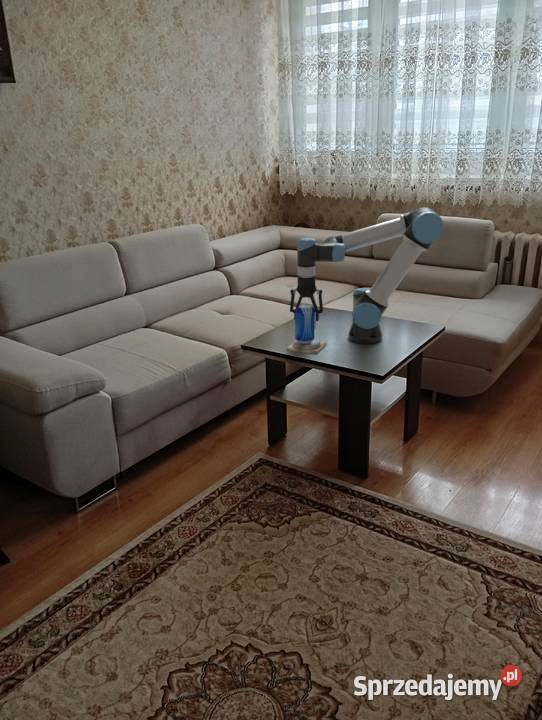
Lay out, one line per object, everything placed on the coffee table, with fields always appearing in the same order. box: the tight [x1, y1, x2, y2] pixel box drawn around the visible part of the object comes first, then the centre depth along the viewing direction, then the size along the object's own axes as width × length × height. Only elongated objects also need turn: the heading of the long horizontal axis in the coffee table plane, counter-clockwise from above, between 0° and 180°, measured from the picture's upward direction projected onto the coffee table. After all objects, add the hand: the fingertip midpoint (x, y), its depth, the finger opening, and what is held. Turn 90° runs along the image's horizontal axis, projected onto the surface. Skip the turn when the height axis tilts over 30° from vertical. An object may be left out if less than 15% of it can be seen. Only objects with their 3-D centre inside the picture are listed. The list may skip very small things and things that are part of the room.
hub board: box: [286, 338, 327, 355], centre depth 266 cm, size 14×12×2 cm
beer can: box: [294, 303, 316, 344], centre depth 262 cm, size 8×8×16 cm
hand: (306, 327), depth 263 cm, fingers closed on beer can, 7 cm apart
